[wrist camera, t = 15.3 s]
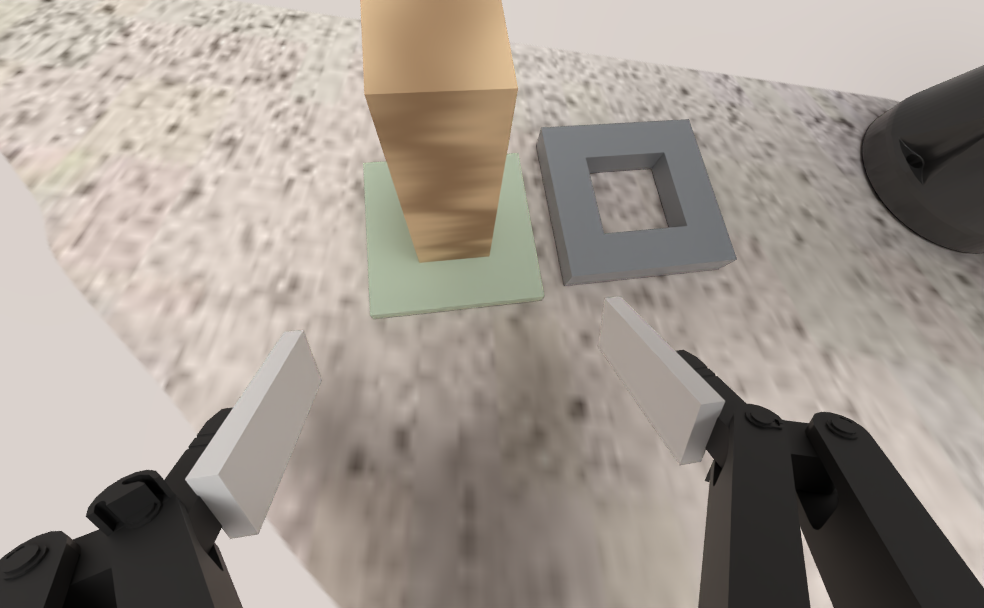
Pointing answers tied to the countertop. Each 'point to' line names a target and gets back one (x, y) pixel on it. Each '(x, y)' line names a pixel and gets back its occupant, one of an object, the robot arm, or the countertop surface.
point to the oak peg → (441, 115)
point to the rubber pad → (451, 282)
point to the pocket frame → (680, 185)
